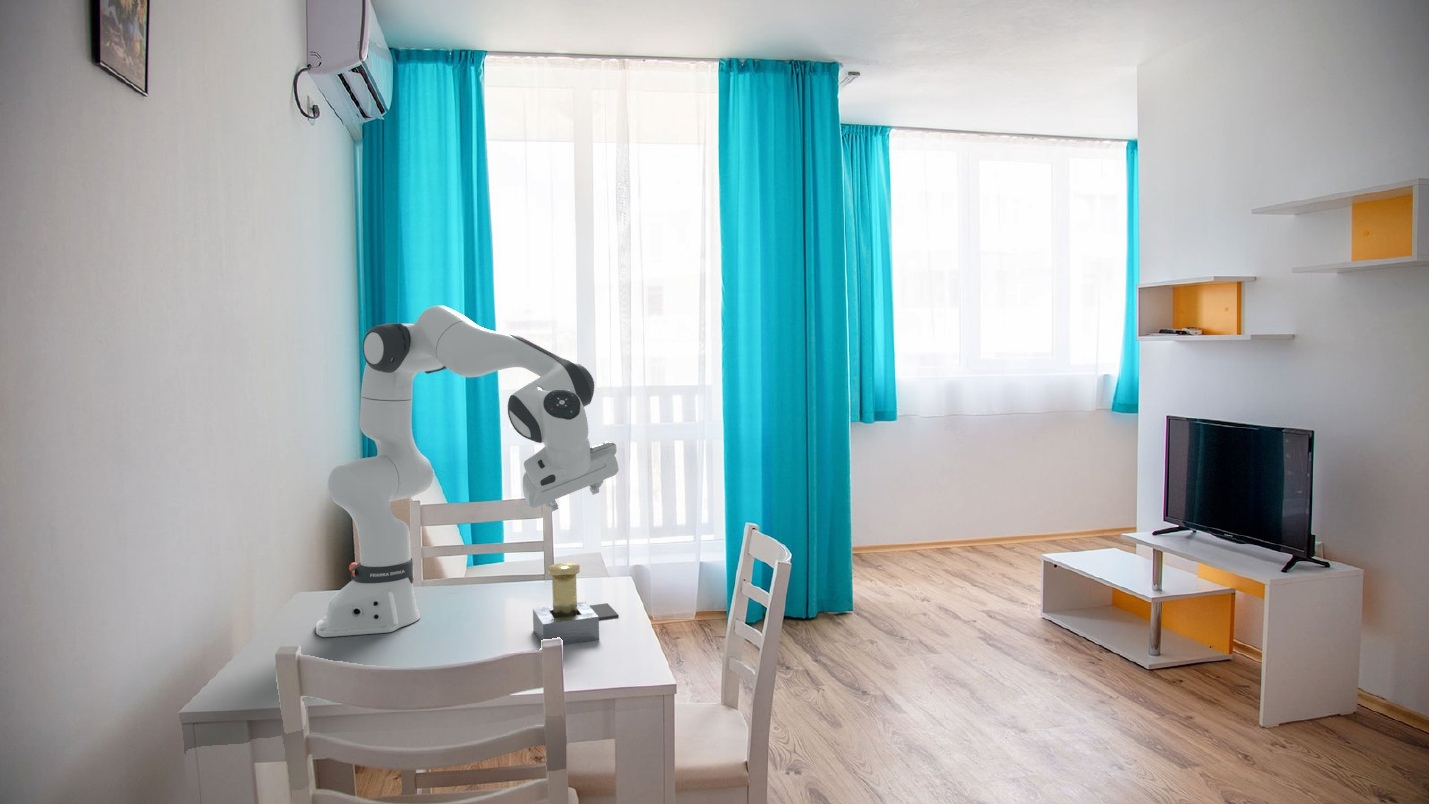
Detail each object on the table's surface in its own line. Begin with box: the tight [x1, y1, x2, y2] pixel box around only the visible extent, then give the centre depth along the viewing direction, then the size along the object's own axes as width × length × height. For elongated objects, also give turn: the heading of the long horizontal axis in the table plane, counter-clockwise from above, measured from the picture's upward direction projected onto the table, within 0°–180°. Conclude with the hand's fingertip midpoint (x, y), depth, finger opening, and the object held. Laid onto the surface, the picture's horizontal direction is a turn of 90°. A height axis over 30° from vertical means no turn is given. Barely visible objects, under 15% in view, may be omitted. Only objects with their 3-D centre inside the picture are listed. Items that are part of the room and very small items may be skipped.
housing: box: [532, 601, 600, 645], centre depth 186 cm, size 12×12×5 cm
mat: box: [589, 602, 620, 621], centre depth 200 cm, size 10×10×1 cm
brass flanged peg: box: [547, 562, 581, 618], centre depth 185 cm, size 7×7×13 cm
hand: (574, 499), depth 180 cm, fingers open, 8 cm apart
